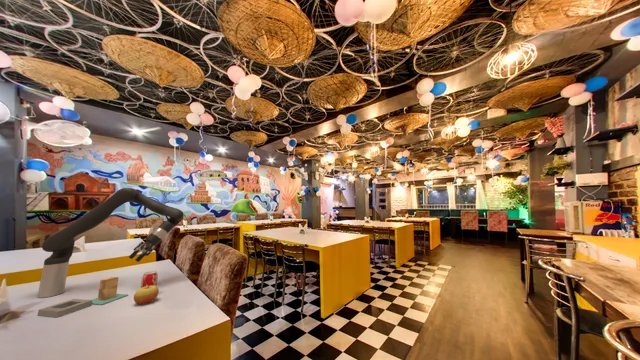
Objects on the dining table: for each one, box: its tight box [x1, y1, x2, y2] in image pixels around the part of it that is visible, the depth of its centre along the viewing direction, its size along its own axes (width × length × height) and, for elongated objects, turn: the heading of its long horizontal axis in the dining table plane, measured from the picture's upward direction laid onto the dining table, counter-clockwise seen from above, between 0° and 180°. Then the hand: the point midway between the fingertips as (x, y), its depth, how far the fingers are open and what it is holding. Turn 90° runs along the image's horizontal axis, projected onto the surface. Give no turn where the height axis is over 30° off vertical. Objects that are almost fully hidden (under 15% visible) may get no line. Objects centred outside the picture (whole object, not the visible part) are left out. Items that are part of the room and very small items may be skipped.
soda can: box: [140, 270, 159, 288], centre depth 116 cm, size 7×7×12 cm
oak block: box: [97, 276, 119, 301], centre depth 111 cm, size 5×5×10 cm
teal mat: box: [91, 293, 129, 306], centre depth 110 cm, size 12×12×1 cm
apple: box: [133, 285, 160, 305], centre depth 106 cm, size 10×10×8 cm
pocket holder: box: [37, 298, 93, 318], centre depth 99 cm, size 12×12×2 cm
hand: (133, 259), depth 122 cm, fingers open, 8 cm apart
